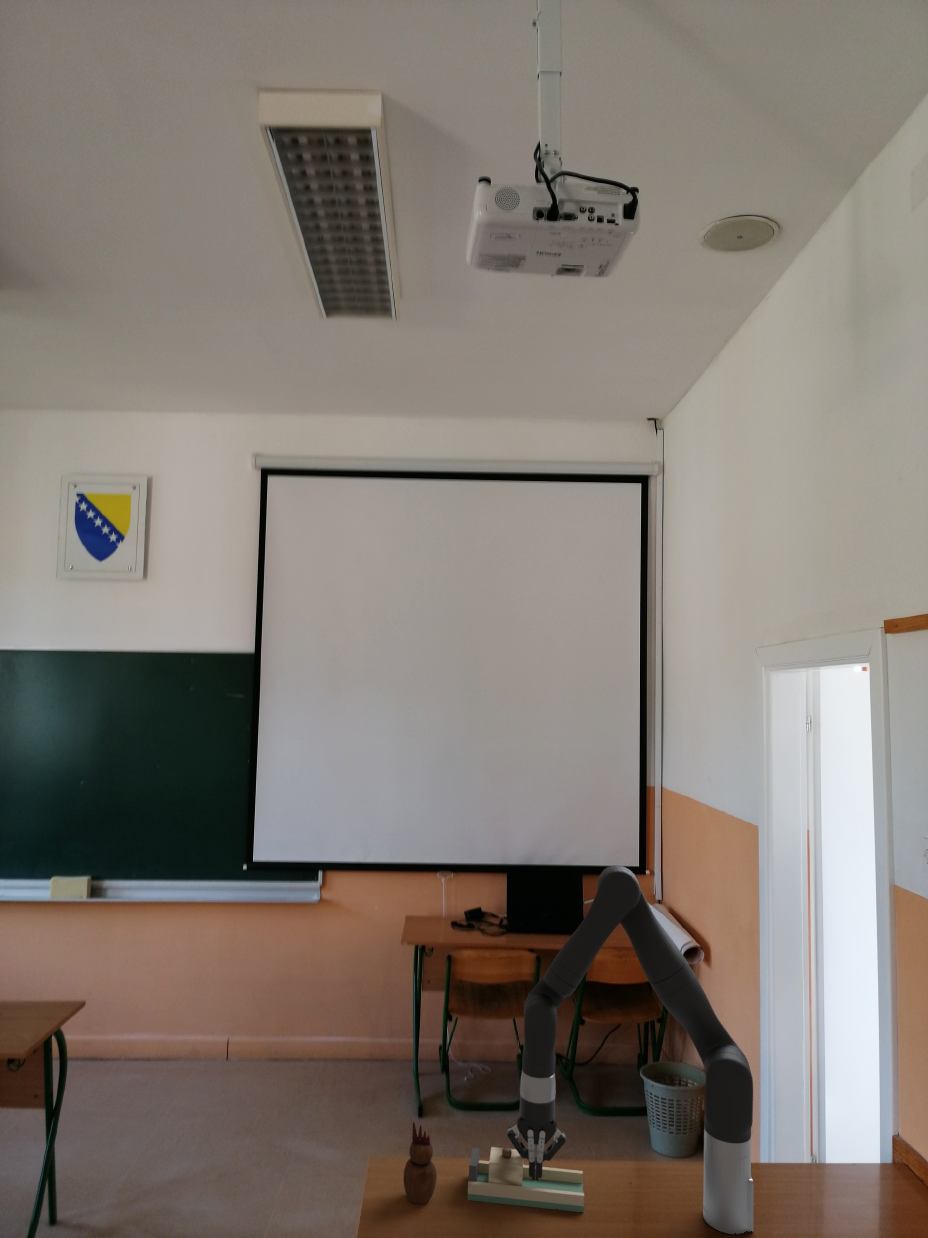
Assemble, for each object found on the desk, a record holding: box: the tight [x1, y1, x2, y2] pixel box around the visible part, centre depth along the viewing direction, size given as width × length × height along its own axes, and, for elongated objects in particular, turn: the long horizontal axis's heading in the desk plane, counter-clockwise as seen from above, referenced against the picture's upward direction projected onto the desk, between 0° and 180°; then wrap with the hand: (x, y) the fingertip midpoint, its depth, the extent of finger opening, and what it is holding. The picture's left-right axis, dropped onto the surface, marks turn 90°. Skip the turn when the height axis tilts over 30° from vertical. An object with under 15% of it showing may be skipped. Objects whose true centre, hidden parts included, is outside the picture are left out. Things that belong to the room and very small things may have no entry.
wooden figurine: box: [403, 1121, 438, 1205], centre depth 171 cm, size 7×6×15 cm
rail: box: [467, 1147, 585, 1213], centre depth 174 cm, size 24×9×6 cm, turn 84°
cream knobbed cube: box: [488, 1146, 524, 1186], centre depth 175 cm, size 7×6×7 cm
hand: (535, 1178), depth 174 cm, fingers closed
